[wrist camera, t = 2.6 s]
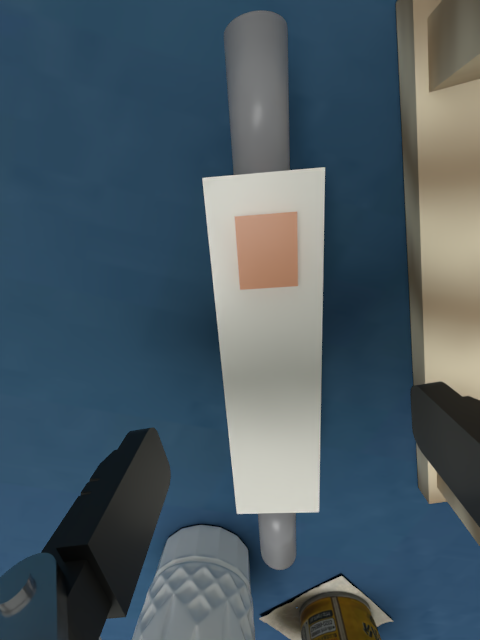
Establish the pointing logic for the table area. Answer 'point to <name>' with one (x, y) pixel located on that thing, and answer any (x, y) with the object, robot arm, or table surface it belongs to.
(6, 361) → the table surface
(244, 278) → the strip bar
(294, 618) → the condiment
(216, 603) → the white cup
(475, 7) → the rack
